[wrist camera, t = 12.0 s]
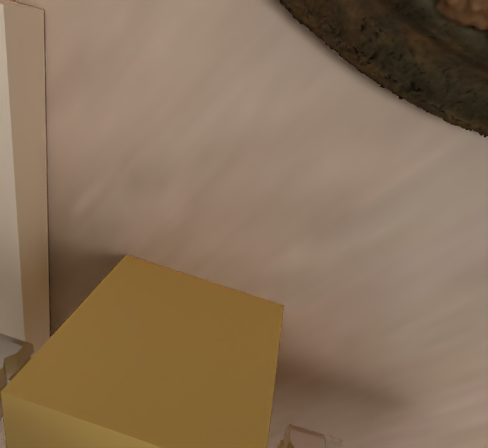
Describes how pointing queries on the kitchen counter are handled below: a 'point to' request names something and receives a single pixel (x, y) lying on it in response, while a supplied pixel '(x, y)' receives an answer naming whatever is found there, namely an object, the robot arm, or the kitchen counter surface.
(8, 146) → the plate
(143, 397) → the mustard block
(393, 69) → the three owls sculpture
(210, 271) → the kitchen counter surface
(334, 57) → the kitchen counter surface
